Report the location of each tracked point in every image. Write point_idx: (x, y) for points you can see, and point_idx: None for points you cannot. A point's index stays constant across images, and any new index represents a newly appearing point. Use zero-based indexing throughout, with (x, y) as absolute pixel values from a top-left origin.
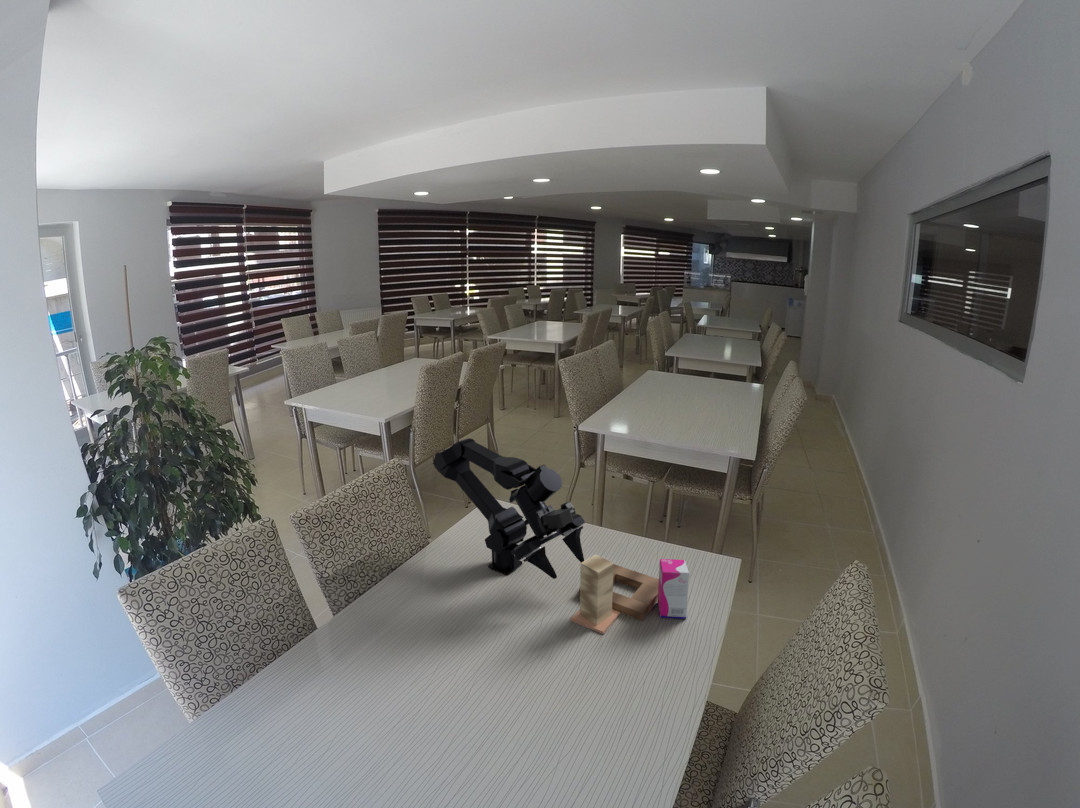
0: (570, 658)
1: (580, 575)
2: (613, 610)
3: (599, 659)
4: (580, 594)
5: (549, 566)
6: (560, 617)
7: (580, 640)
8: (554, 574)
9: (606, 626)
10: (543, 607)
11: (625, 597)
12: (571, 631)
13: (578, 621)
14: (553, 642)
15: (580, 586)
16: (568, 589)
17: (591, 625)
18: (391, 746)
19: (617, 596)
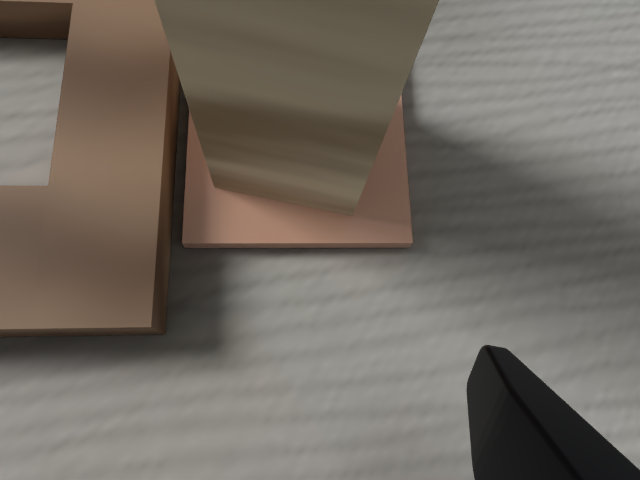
0: (636, 111)
1: (428, 23)
2: None
3: (550, 8)
4: (381, 142)
5: (609, 461)
6: (419, 317)
7: (505, 129)
8: (527, 367)
9: None
10: (404, 475)
11: (82, 26)
12: (479, 200)
13: (407, 192)
14: (612, 234)
15: (396, 103)
16: (120, 444)
17: (392, 118)
18: None
19: (96, 69)
